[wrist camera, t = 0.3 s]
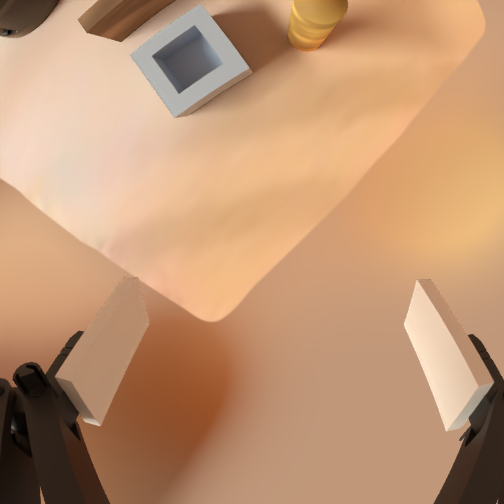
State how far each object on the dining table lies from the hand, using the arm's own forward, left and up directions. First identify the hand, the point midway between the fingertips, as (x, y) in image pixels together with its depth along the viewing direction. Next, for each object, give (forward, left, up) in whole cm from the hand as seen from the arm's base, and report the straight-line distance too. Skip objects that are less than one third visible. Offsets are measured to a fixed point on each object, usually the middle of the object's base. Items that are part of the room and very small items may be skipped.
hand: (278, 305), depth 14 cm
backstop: (-27, 0, -25) cm, 37 cm away
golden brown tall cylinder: (-13, +12, -25) cm, 30 cm away
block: (-16, 0, -25) cm, 30 cm away
